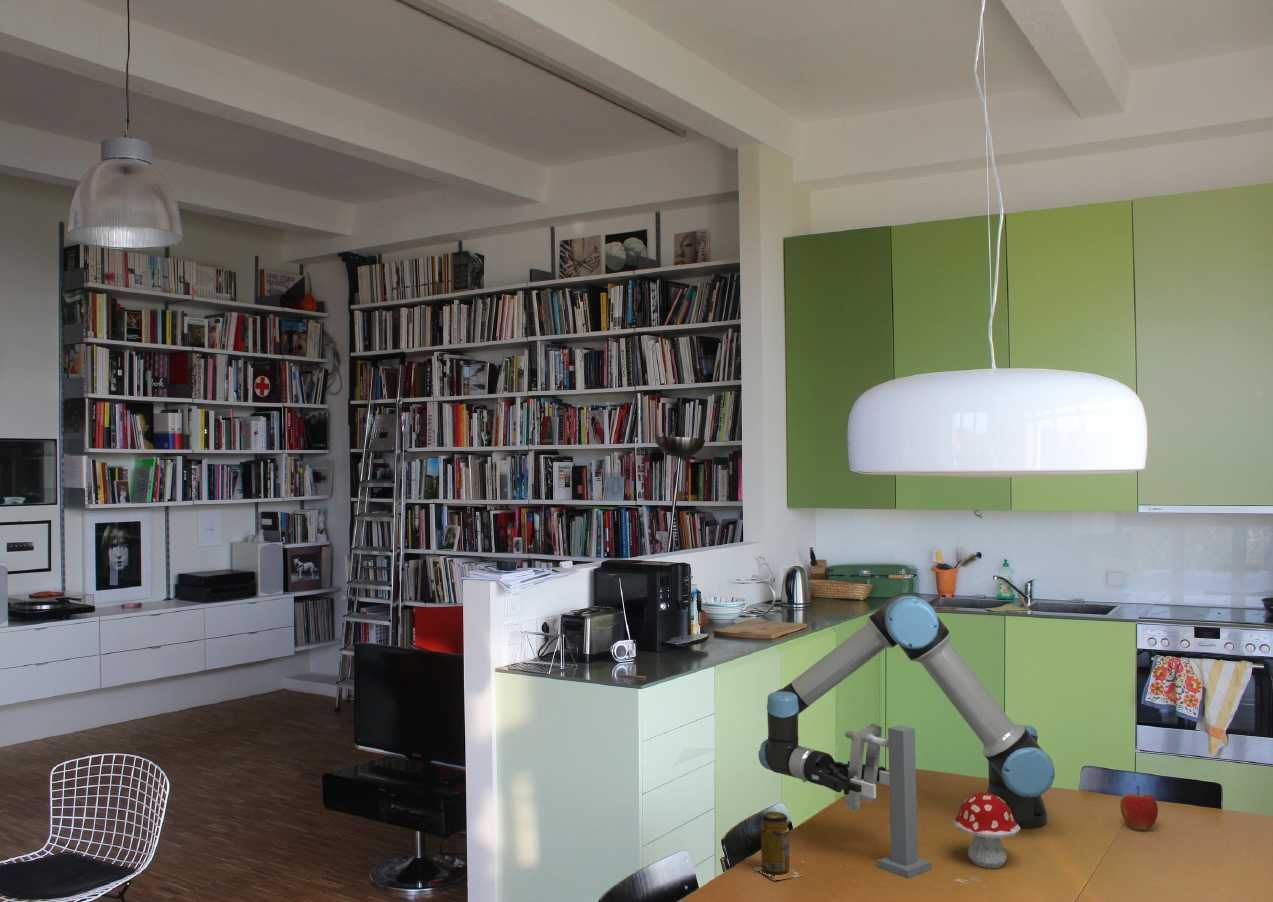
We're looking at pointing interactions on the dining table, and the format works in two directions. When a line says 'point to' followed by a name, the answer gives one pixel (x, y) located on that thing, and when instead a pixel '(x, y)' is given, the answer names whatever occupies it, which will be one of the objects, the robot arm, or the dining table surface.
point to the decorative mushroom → (986, 828)
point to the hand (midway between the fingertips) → (889, 787)
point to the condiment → (775, 845)
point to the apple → (1139, 811)
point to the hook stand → (901, 803)
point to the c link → (857, 762)
